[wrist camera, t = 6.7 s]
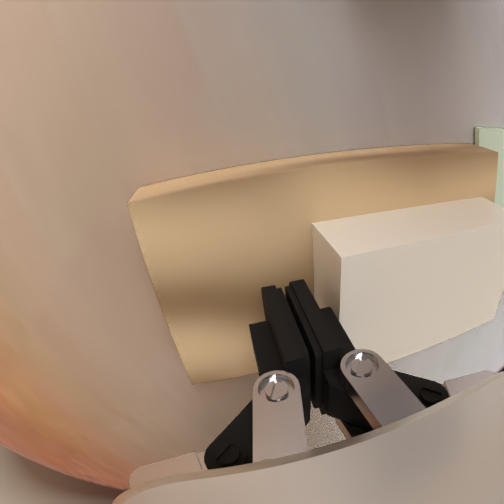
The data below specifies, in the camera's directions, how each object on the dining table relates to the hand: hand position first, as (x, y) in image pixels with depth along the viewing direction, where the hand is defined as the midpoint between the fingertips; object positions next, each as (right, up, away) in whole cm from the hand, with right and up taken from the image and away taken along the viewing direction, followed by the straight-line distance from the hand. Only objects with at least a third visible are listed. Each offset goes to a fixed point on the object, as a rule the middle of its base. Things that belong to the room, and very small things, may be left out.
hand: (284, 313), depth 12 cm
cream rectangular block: (+6, +2, +2) cm, 7 cm away
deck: (+3, +3, +4) cm, 6 cm away
